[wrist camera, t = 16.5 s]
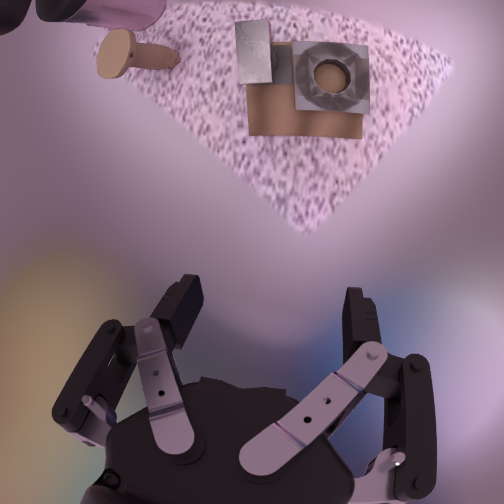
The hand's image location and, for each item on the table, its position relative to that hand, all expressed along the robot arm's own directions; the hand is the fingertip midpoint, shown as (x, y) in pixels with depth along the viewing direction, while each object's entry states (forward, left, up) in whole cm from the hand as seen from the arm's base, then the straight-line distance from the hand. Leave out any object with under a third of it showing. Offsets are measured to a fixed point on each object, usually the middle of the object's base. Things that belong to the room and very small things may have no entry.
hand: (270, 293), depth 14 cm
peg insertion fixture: (+1, +11, -30) cm, 32 cm away
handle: (-19, +18, -30) cm, 40 cm away
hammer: (-4, +15, -28) cm, 32 cm away
